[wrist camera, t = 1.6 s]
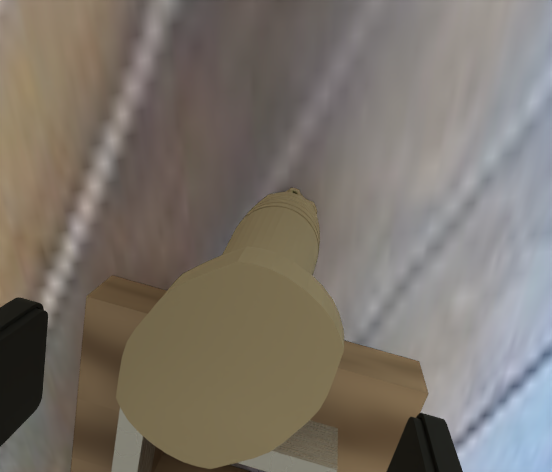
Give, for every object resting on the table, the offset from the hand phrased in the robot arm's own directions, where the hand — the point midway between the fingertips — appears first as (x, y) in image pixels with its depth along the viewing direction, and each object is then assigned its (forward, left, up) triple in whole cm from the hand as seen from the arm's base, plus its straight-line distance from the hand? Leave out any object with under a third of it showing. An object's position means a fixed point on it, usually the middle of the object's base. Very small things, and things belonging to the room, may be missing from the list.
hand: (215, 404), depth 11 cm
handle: (-1, 0, -16) cm, 16 cm away
